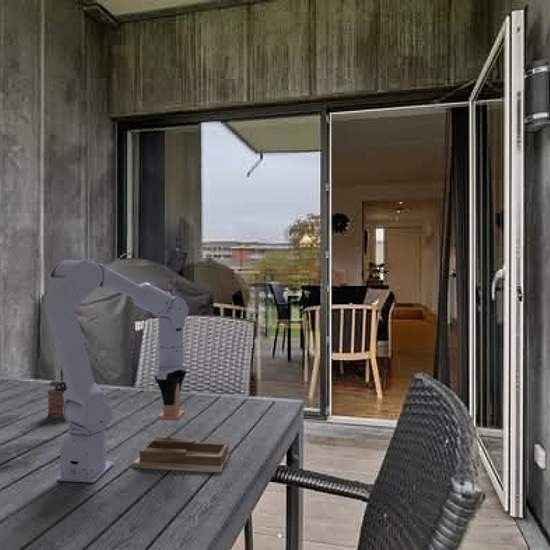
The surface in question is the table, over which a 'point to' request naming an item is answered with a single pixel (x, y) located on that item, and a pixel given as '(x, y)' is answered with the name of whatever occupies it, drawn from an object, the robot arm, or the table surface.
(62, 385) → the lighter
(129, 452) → the table surface
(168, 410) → the key peg
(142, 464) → the keyhole board
